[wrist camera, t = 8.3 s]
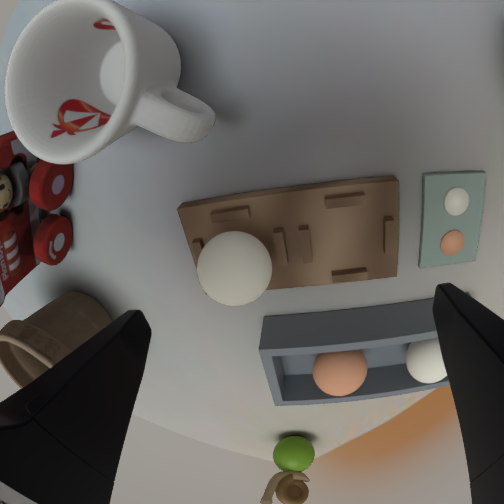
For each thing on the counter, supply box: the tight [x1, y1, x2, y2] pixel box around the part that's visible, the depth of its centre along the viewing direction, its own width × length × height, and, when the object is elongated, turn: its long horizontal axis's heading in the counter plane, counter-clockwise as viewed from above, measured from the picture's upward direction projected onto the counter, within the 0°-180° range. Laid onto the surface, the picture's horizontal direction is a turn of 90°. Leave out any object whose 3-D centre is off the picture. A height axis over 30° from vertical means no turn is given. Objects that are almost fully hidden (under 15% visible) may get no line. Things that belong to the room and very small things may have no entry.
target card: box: [418, 171, 486, 268], centre depth 18 cm, size 5×7×1 cm
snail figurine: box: [260, 436, 315, 504], centre depth 31 cm, size 5×6×12 cm
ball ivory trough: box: [406, 338, 447, 383], centre depth 22 cm, size 4×4×4 cm
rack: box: [177, 176, 399, 294], centre depth 20 cm, size 14×7×2 cm, turn 102°
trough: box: [259, 292, 470, 406], centre depth 24 cm, size 18×8×4 cm, turn 102°
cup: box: [5, 0, 215, 164], centre depth 13 cm, size 11×8×8 cm
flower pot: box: [0, 291, 112, 389], centre depth 24 cm, size 12×11×10 cm
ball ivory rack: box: [197, 231, 272, 306], centre depth 19 cm, size 4×4×4 cm
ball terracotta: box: [313, 349, 367, 396], centre depth 23 cm, size 4×4×4 cm
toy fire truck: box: [0, 131, 73, 307], centre depth 17 cm, size 7×12×10 cm, turn 164°
